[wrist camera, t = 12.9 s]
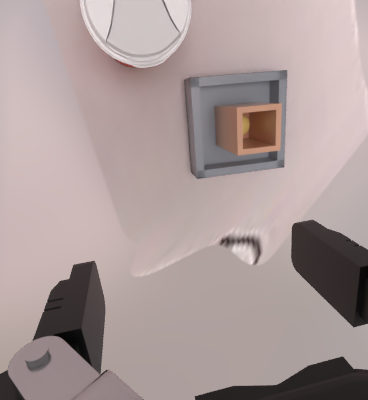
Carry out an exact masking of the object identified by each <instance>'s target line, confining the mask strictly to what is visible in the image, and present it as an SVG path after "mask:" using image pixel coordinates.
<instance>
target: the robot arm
mask: <svg viewBox="0 0 368 400" xmlns="http://www.w3.org/2000/svg"><path fill="white" fill-rule="evenodd" d="M291 251H292V253H291V258H292V263H293V266H294V268H295V270H296V271H297V272H298V273H299V274H300V275H301V276H302V277H303V278H304V279H305V280H306V281H307V282H308V283H309V284H310V285H311V286H312V287H313V288H315V290H316V291H317V292H318V293H319V294H320V295H321V296H322V297H324V299H325V300H326V301H327V302H328V303H329V304H330V305H332V307H334V309H336V310H337V311H338V312H339V313H340V314H341V315H342V316H343V317H344V318H345V319H346V320H347V321H348V322H349V323H350V324H351V325H352V326H353V327H357V326H361V325H364V324H368V250H367V249H366V248H364V247H362V246H359V244H357V243H356V242H354V241H351V240H350V239H349V238H348V237H346V236H344V235H343V234H341V233H339V232H335V231H332V230H329V229H327V228H325V227H324V226H322V225H321V224H319V223H317V222H316V221H314V220H308V221H303V222H298V223H294V224H293V226H292V250H291ZM104 322H105V301H104V295H103V291H102V287H101V283H100V278H99V274H98V270H97V266H96V263H95V261H91V262H86V263H81V264H76V265H73V268H72V272H71V275H70V278H69V279H68V280H63V281H60V282H59V283H58V284H57V285H56V286H55V287H54V288H53V289H52V290H51V292H50V295H49V298H48V301H47V303H46V306H45V309H44V312H43V314H42V317H41V319H40V322H39V325H38V328H37V331H36V333H35V336H34V339H33V341H32V342H30V343H28V344H27V345H25V346H24V347H23V348H21V349H20V350H19V351H18V352H17V353H16V354H15V355H14V357H13V358H12V359H11V361H10V364H9V366H8V370H7V371H5V372H3V373H1V374H0V400H144V399H142V398H141V397H140V396H139V395H138V394H137V393H136V392H135V391H134V390H132V389H131V388H130V387H129V386H128V385H127V384H126V383H125V382H124V381H122V380H121V379H120V378H119V377H118V376H117V375H116V374H115V373H113V372H112V371H109V370H106V371H105V372H103V373H102V374H101V375H100V373H101V359H102V348H103V335H104ZM195 400H368V370H363V369H353V368H352V367H351V366H350V364H349V363H348V362H347V361H346V360H345V359H344V357H340V358H335V359H332V360H328V361H324V362H321V363H317V364H313V365H310V366H307V367H306V368H304V369H303V370H301V371H299V372H298V373H296V374H295V375H293V376H291V377H290V378H288V379H286V380H285V381H283V382H282V383H280V384H278V385H271V386H270V385H269V386H232V387H228V388H225V389H221V390H217V391H213V392H210V393H206V394H203V395H199V396H195Z"/></svg>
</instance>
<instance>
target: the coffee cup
mask: <svg viewBox="0 0 368 400" xmlns="http://www.w3.org/2000/svg"><path fill="white" fill-rule="evenodd" d="M80 8H81V13H82V16H83V20H84V22H85V25H86V27H87V29H88V31H89V33H90V34H91V36H92V38H93V39H94V40H95V42H96V43H97V44H98V45H99V47H100V48H102V49H103V50H104V51H105V52H106V53H107V54H109V55H110V56H111V57H113V58H114V59H116V60H117V61H118V62H119V63H121V64H123V65H125V66H129V67H138V68H148V67H153V66H156V65H159V64H161V63H163V62H164V61H165V60H166V59H167V58H168V57H169V56H170V55H172V54H173V53H174V52H175V51H176V50H177V48H178V47H179V46H180V45H181V43H182V41H183V40H184V38H185V36H186V34H187V31H188V28H189V24H190V20H191V0H80Z"/></svg>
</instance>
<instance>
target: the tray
mask: <svg viewBox="0 0 368 400" xmlns="http://www.w3.org/2000/svg"><path fill="white" fill-rule="evenodd" d="M184 82H185V95H186V108H187V121H188V134H189V147H190V160H191V173H192V174H193V175H194V176H195V177H196V178H197V179H200V178H207V177H215V176H222V175H229V174H237V173H244V172H252V171H259V170H266V169H274V168H281V167H284V155H285V123H286V90H287V70H283V71H271V72H258V73H246V74H233V75H221V76H208V77H196V78H189V79H185V80H184ZM251 102H252V103H282V114H281V148H280V151H271V152H263V153H255V154H247V155H236V154H233V153H231V152H229V151H227V150H225V149H223V148H221V147H219V146H217V145H216V131H215V108H214V106H219V105H229V104H240V103H251Z"/></svg>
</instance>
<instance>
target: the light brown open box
mask: <svg viewBox="0 0 368 400" xmlns="http://www.w3.org/2000/svg"><path fill="white" fill-rule="evenodd" d="M214 108H215V131H216V145H217V146H219V147H221V148H223V149H225V150H227V151H229V152H231V153H233V154H236V155H247V154H255V153H263V152H271V151H280V148H281V114H282V103H252V102H251V103H240V104H229V105H219V106H214ZM242 114H243V115H245V116H246V117H247V118H248V119H249V122H250V127H249V130H248V131H247V133H246V134H244V135H243V118H242Z"/></svg>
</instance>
